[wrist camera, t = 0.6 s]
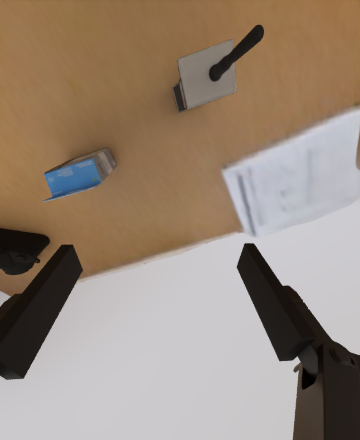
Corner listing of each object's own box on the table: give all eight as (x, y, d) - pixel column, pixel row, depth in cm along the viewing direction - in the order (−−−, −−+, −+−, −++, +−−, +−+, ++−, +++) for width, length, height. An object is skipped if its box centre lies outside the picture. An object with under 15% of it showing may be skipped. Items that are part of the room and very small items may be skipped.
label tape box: (108, 147, 32) (80, 161, 22) (118, 167, 35) (96, 188, 24) (68, 160, 33) (22, 179, 23) (80, 179, 35) (43, 204, 25)
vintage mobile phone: (171, 88, 28) (186, -3, 7) (200, 78, 28) (306, -51, 7) (177, 113, 30) (203, 100, 9) (204, 104, 30) (296, 69, 9)
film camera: (-6, 253, 44) (-43, 281, 36) (-19, 223, 39) (-63, 249, 32) (56, 260, 47) (34, 288, 39) (52, 234, 42) (26, 260, 35)
